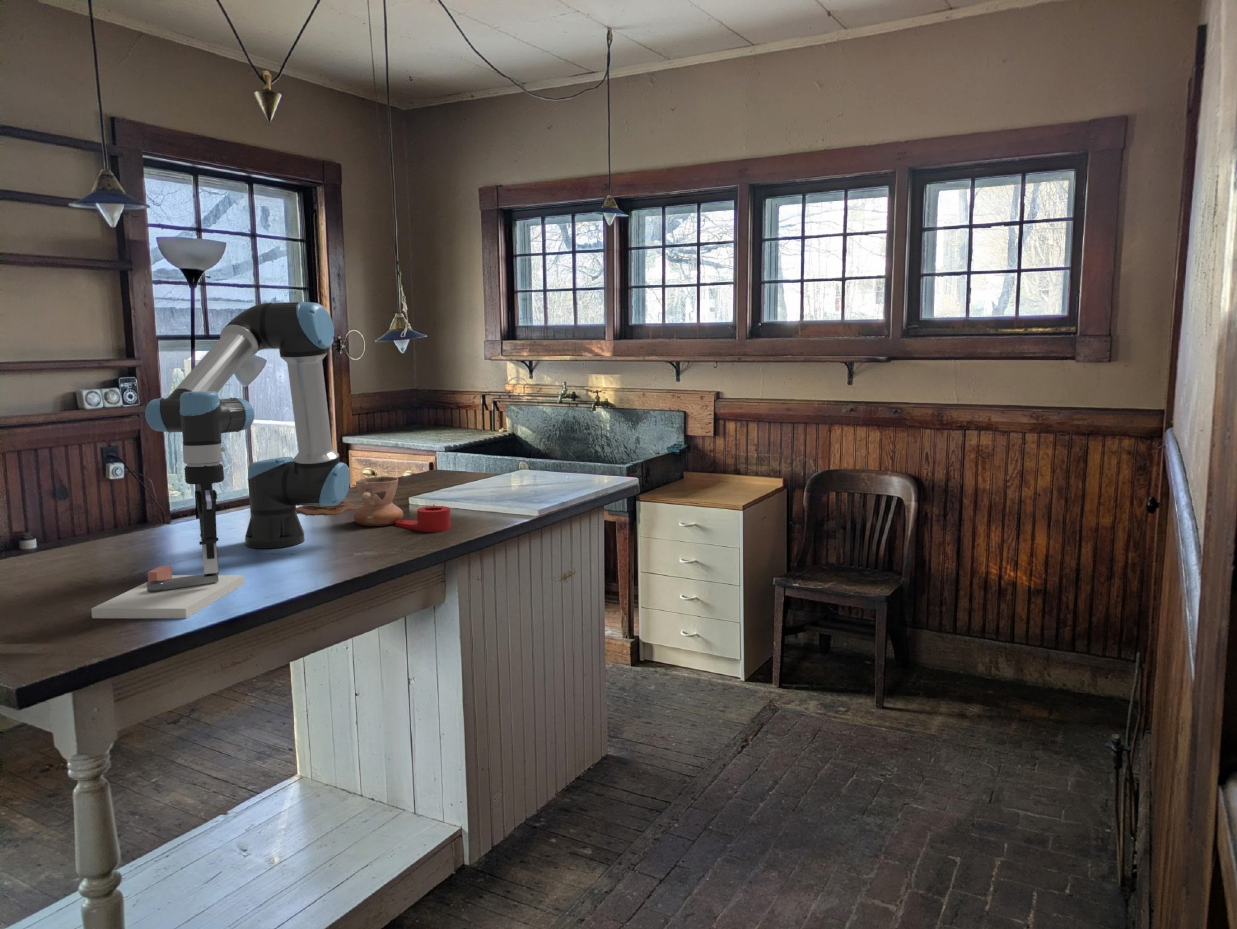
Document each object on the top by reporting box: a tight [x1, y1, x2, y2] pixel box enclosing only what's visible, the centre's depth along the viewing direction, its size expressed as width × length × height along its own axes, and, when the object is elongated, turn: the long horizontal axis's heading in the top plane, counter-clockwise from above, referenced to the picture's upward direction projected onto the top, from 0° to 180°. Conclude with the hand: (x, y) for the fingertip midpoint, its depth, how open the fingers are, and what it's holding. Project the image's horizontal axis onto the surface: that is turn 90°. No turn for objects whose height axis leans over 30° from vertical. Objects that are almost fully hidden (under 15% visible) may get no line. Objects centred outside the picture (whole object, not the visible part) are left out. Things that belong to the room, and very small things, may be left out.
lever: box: [394, 505, 452, 533], centre depth 260 cm, size 18×9×7 cm, turn 68°
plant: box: [296, 500, 360, 516], centre depth 286 cm, size 20×20×11 cm
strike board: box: [90, 565, 246, 619], centre depth 188 cm, size 26×19×5 cm
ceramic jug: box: [353, 475, 404, 528], centre depth 266 cm, size 18×14×14 cm
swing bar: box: [147, 548, 220, 592], centre depth 191 cm, size 14×4×8 cm, turn 126°
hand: (211, 572), depth 191 cm, fingers closed
